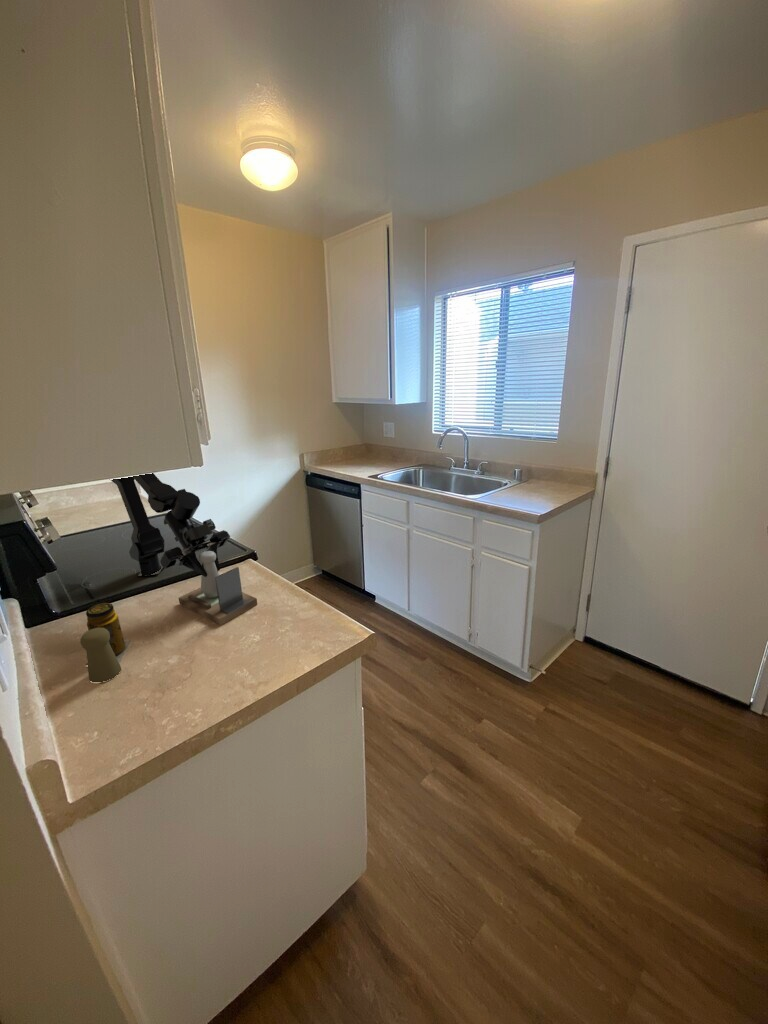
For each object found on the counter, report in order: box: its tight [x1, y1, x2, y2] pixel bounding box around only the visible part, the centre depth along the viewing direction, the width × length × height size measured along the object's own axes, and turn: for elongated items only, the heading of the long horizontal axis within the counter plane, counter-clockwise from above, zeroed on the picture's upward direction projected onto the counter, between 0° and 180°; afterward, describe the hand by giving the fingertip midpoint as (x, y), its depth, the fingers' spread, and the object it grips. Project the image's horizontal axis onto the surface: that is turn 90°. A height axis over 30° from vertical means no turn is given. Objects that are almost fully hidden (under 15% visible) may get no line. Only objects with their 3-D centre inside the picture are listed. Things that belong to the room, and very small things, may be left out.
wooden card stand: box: [178, 586, 258, 626], centre depth 117 cm, size 19×12×3 cm, turn 56°
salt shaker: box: [198, 550, 220, 598], centre depth 115 cm, size 6×6×13 cm
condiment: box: [85, 602, 132, 665], centre depth 95 cm, size 7×8×12 cm
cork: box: [79, 628, 122, 682], centre depth 89 cm, size 6×6×11 cm
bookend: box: [215, 566, 250, 614], centre depth 111 cm, size 3×7×10 cm, turn 146°
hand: (212, 573), depth 114 cm, fingers open, 4 cm apart
